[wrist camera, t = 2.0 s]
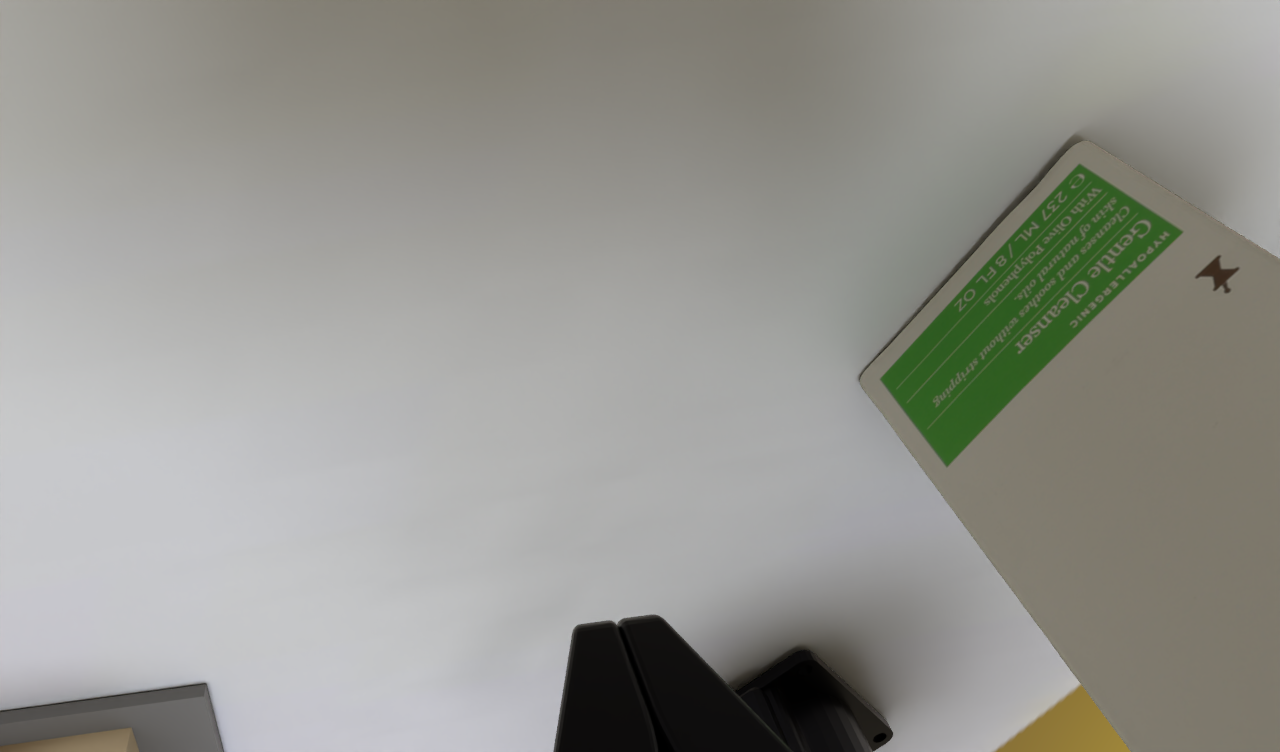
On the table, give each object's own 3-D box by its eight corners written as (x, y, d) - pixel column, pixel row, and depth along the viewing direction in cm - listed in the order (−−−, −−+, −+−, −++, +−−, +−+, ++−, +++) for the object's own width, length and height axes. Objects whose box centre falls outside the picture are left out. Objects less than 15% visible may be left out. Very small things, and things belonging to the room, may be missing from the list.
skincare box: (1076, 128, 23) (1961, 616, 10) (1212, 257, 26) (2008, 750, 14) (842, 389, 26) (1314, 1031, 13) (991, 477, 29) (1484, 1058, 16)
